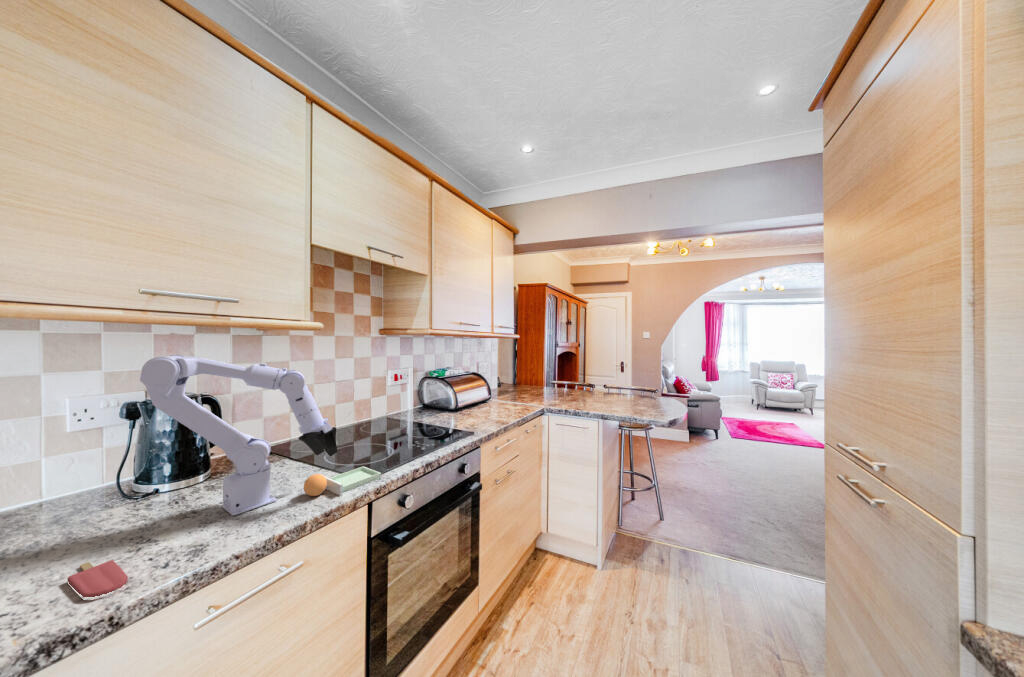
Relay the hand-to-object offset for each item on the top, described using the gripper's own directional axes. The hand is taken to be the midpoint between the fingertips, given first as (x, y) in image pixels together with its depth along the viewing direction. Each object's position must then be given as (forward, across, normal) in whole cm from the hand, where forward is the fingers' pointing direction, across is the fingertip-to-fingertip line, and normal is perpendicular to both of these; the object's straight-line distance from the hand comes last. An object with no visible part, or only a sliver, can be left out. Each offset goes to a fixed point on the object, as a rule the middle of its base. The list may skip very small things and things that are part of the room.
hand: (326, 453), depth 96 cm
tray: (+12, +1, -4) cm, 13 cm away
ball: (+6, +1, +6) cm, 8 cm away
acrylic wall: (+10, +1, +3) cm, 10 cm away
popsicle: (-3, -1, +43) cm, 43 cm away
